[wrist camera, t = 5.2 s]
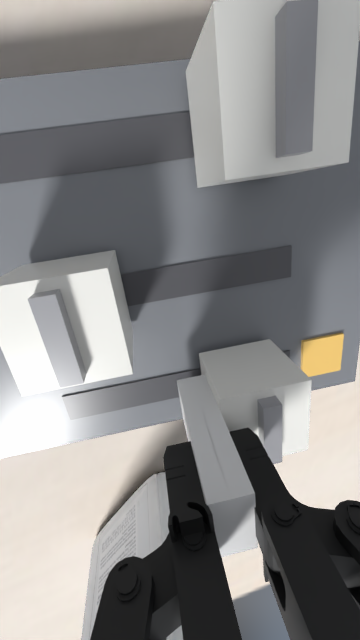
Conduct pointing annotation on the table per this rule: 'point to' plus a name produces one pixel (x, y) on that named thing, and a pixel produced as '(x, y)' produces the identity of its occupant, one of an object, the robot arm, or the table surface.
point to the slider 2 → (261, 394)
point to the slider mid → (65, 323)
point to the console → (169, 244)
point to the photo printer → (128, 541)
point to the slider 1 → (272, 88)
